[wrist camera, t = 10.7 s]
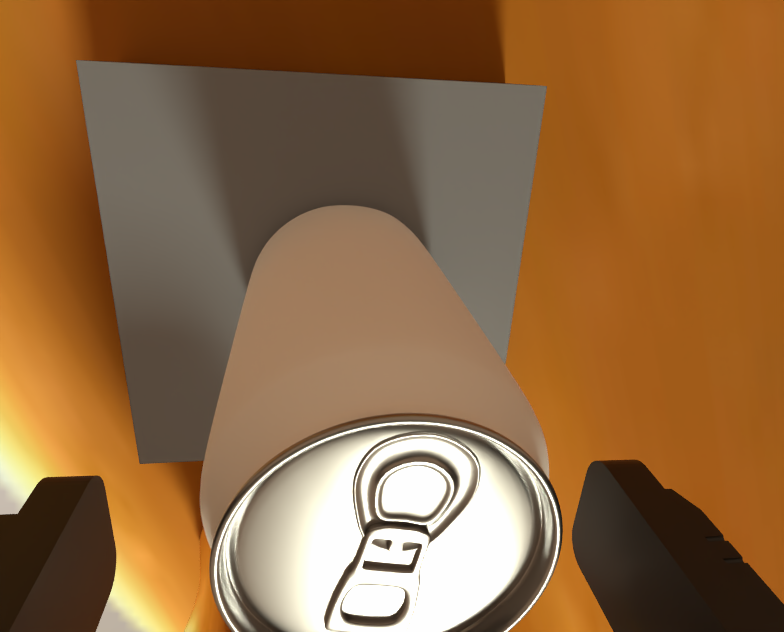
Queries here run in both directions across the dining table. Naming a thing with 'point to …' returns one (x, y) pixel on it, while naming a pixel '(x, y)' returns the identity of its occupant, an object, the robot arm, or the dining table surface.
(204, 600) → the beer glass
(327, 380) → the can
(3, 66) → the dining table surface
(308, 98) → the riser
